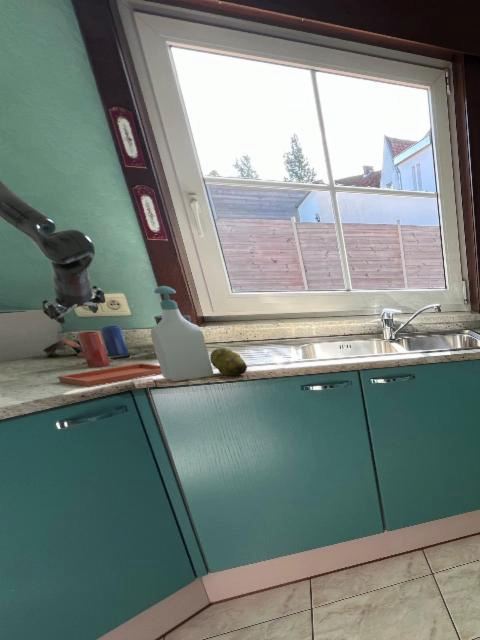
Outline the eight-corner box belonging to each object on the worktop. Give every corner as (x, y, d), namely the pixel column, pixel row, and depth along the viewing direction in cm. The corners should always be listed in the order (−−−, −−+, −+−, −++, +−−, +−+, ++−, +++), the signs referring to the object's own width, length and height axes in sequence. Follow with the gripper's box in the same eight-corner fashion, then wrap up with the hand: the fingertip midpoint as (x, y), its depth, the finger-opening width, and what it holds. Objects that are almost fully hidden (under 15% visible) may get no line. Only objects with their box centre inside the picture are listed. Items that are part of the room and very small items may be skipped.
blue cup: (116, 359, 174) (105, 328, 170) (106, 358, 176) (95, 327, 172) (134, 357, 179) (124, 326, 175) (123, 355, 180) (113, 325, 176)
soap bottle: (202, 371, 162) (178, 284, 152) (213, 375, 158) (190, 286, 148) (161, 377, 153) (133, 285, 143) (172, 381, 149) (144, 287, 139)
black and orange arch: (78, 363, 169) (54, 343, 164) (58, 374, 171) (33, 354, 166) (102, 348, 179) (79, 329, 174) (83, 358, 180) (59, 340, 175)
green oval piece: (218, 379, 154) (212, 353, 151) (212, 371, 162) (206, 347, 159) (250, 375, 159) (244, 351, 156) (242, 368, 168) (236, 345, 165)
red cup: (95, 368, 162) (83, 334, 158) (84, 366, 163) (72, 333, 159) (114, 365, 167) (103, 332, 162) (103, 363, 168) (92, 331, 164)
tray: (90, 386, 141) (88, 381, 140) (60, 381, 145) (57, 376, 144) (171, 372, 160) (170, 366, 160) (143, 368, 164) (141, 363, 163)
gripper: (89, 266, 145) (92, 298, 155) (29, 281, 134) (37, 315, 145) (111, 286, 146) (113, 316, 157) (54, 303, 136) (60, 334, 147)
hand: (76, 315), depth 151 cm, fingers open, 8 cm apart
